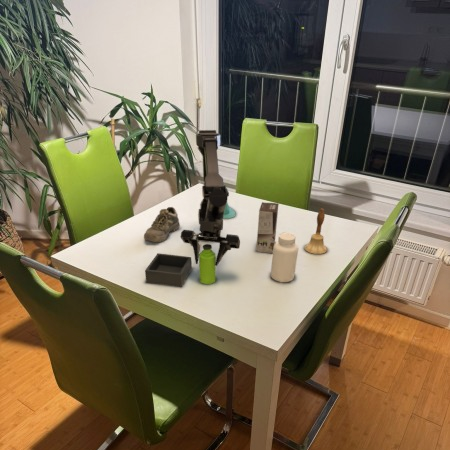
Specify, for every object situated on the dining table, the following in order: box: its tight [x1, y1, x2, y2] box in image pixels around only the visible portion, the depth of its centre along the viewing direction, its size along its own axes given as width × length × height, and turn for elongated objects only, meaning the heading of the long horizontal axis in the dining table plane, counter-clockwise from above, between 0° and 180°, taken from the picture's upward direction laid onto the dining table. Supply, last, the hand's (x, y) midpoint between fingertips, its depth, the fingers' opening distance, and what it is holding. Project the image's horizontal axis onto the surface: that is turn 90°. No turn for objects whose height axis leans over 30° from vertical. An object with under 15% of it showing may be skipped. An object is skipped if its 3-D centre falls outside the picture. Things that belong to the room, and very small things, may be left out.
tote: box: [144, 252, 193, 288], centre depth 137 cm, size 12×12×4 cm
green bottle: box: [198, 243, 216, 285], centre depth 132 cm, size 5×5×12 cm
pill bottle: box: [270, 232, 299, 283], centre depth 134 cm, size 8×8×15 cm
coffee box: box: [255, 201, 279, 254], centre depth 152 cm, size 9×6×16 cm
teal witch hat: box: [223, 201, 236, 220], centre depth 183 cm, size 12×20×9 cm, turn 29°
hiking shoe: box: [143, 206, 181, 243], centre depth 162 cm, size 9×21×12 cm
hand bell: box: [304, 207, 328, 255], centre depth 151 cm, size 8×8×16 cm
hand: (206, 264), depth 131 cm, fingers open, 6 cm apart
